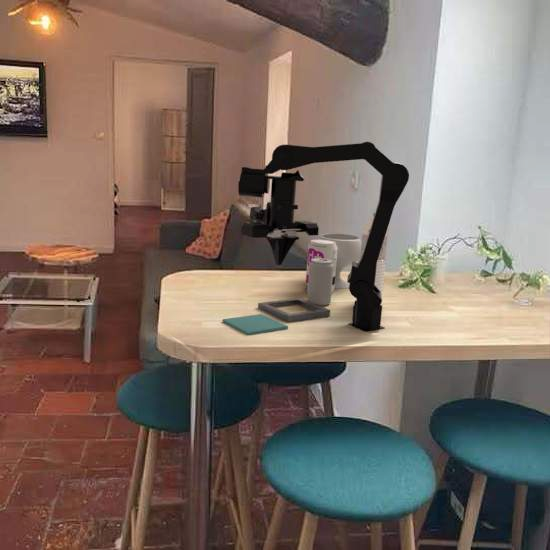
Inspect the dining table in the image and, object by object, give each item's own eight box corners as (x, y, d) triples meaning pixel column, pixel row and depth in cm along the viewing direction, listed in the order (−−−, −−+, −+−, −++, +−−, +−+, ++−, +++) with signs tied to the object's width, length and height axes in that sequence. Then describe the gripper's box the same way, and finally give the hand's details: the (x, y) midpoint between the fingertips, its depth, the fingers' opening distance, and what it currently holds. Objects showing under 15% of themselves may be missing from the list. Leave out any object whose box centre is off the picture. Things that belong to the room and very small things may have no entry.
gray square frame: (329, 315, 156) (330, 310, 156) (288, 322, 149) (288, 316, 149) (298, 303, 167) (298, 297, 166) (257, 308, 159) (258, 303, 159)
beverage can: (334, 303, 169) (338, 260, 166) (323, 308, 163) (327, 263, 160) (313, 299, 172) (316, 256, 169) (302, 303, 166) (305, 259, 164)
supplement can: (319, 298, 173) (322, 244, 170) (299, 291, 180) (302, 240, 176) (339, 294, 179) (343, 242, 175) (319, 288, 185) (323, 238, 181)
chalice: (367, 285, 192) (371, 237, 188) (345, 293, 180) (350, 242, 177) (327, 278, 199) (331, 231, 196) (304, 285, 188) (307, 235, 185)
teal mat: (287, 328, 144) (288, 326, 144) (247, 335, 138) (247, 332, 138) (261, 316, 153) (261, 313, 153) (222, 321, 147) (222, 319, 146)
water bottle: (351, 305, 167) (360, 212, 162) (360, 300, 173) (368, 210, 168) (376, 310, 164) (385, 215, 159) (384, 305, 170) (393, 213, 165)
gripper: (295, 195, 158) (290, 256, 161) (230, 195, 147) (227, 260, 151) (322, 200, 149) (317, 265, 152) (256, 201, 138) (252, 270, 142)
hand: (278, 264), depth 149 cm, fingers closed
